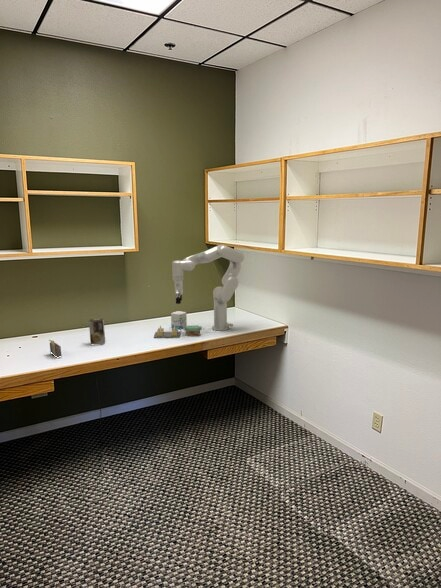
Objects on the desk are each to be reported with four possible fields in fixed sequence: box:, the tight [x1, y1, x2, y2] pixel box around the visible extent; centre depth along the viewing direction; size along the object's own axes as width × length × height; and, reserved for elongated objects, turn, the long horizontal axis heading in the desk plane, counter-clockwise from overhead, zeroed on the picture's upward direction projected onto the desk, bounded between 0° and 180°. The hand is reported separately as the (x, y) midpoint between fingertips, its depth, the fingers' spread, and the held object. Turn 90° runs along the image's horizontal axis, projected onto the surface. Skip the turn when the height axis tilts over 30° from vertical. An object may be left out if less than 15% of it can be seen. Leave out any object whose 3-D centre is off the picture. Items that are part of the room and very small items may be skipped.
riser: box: [185, 330, 201, 337], centre depth 299 cm, size 10×4×4 cm, turn 92°
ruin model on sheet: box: [48, 339, 62, 357], centre depth 258 cm, size 11×3×10 cm, turn 40°
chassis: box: [153, 325, 182, 339], centre depth 298 cm, size 18×12×6 cm, turn 92°
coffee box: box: [88, 318, 106, 345], centre depth 281 cm, size 9×6×16 cm
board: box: [183, 324, 202, 331], centre depth 299 cm, size 12×7×2 cm, turn 92°
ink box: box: [170, 310, 188, 330], centre depth 318 cm, size 8×8×12 cm
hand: (179, 302), depth 301 cm, fingers open, 9 cm apart
